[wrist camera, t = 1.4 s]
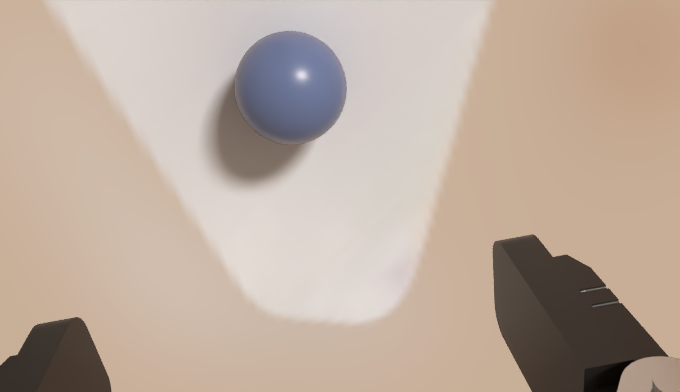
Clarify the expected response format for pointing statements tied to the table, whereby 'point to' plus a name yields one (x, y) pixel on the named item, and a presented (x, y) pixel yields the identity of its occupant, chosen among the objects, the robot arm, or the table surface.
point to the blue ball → (290, 87)
